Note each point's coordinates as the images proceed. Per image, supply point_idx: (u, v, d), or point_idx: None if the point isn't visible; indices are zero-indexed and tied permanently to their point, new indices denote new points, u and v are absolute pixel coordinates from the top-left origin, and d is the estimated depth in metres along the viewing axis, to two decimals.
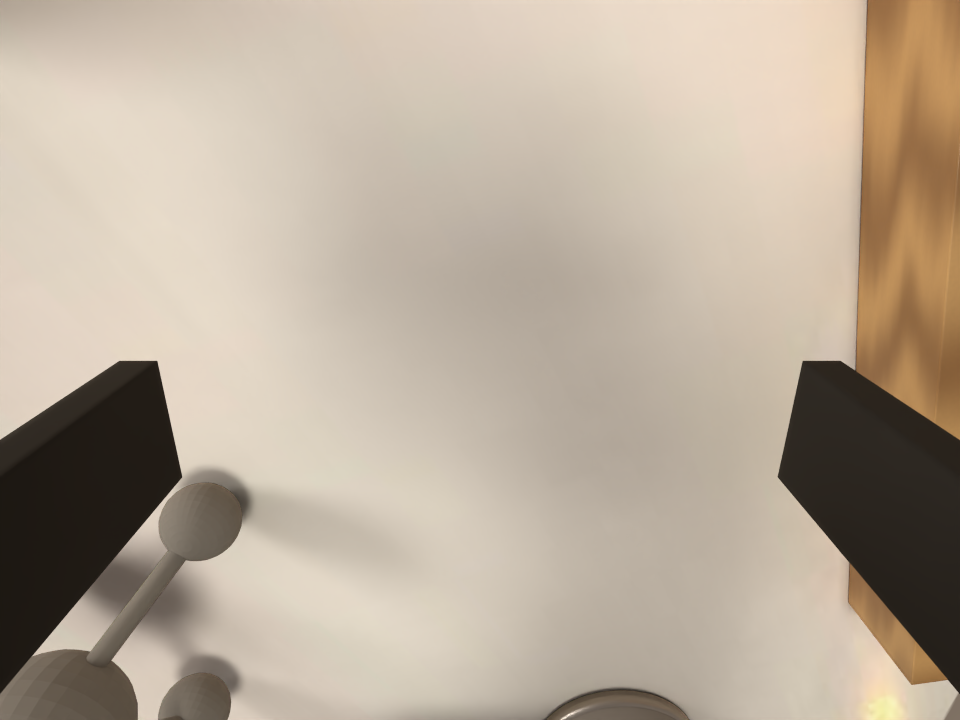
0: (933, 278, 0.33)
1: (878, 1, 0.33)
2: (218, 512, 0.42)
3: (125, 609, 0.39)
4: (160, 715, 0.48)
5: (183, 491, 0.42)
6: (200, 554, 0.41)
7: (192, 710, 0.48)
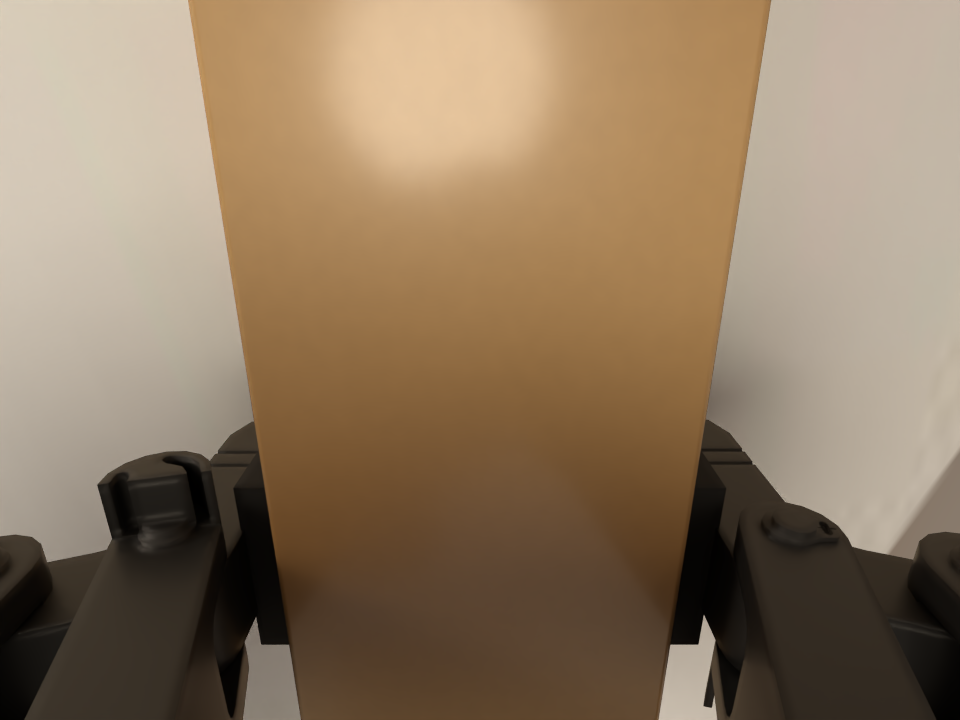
0: None
1: None
2: None
3: None
4: None
5: None
6: None
7: None
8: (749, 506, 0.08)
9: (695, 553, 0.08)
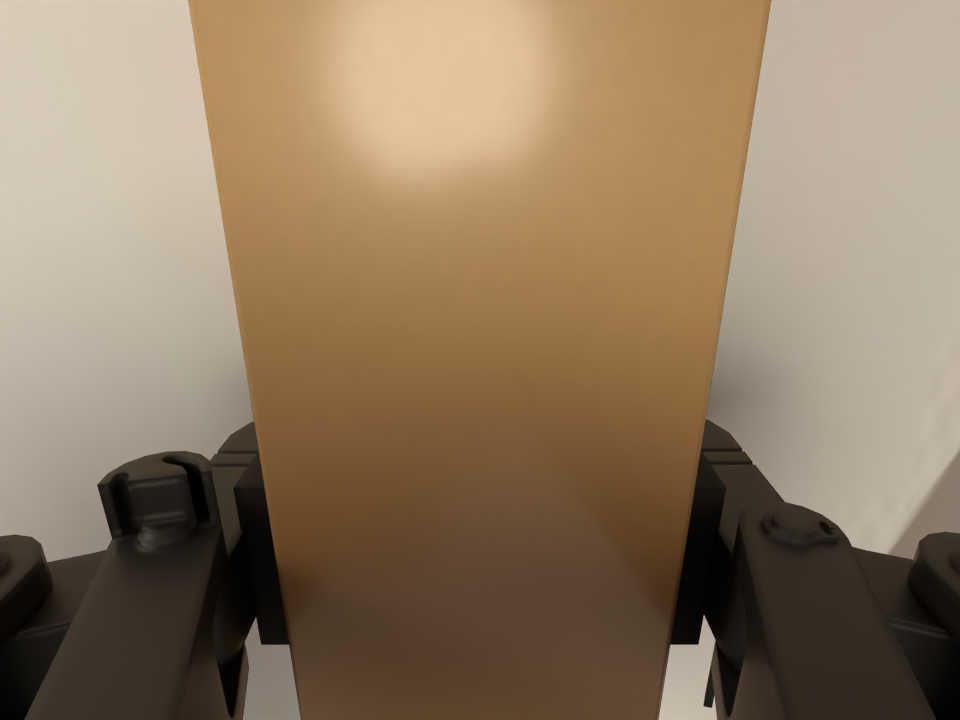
0: None
1: None
2: None
3: None
4: None
5: None
6: None
7: None
8: (749, 506, 0.08)
9: (695, 553, 0.08)
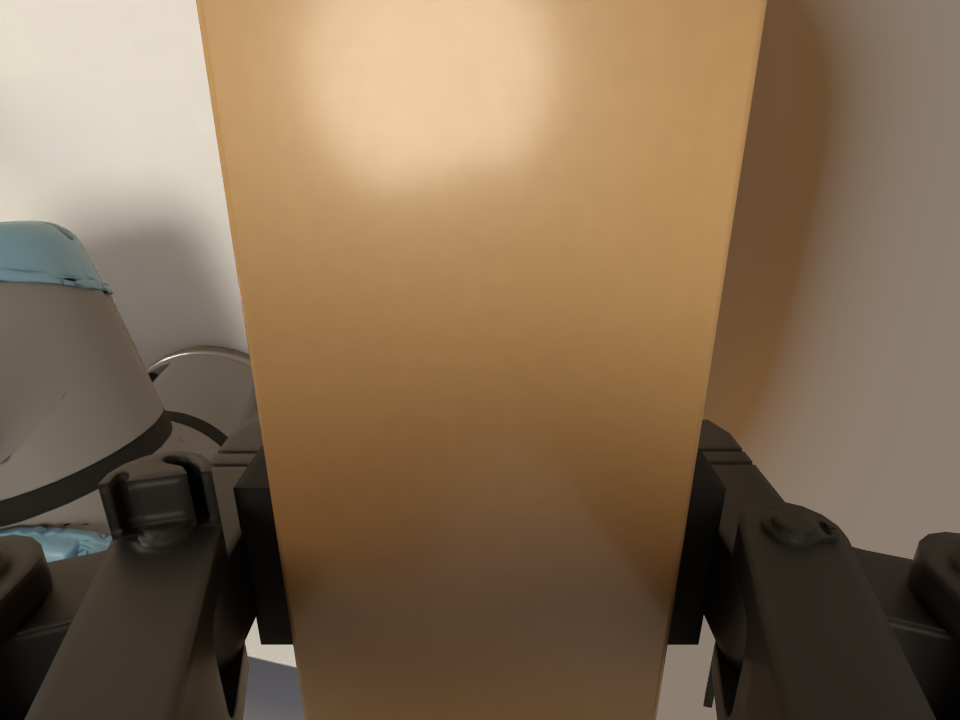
0: None
1: None
2: None
3: None
4: None
5: None
6: None
7: None
8: (749, 506, 0.08)
9: (695, 553, 0.08)
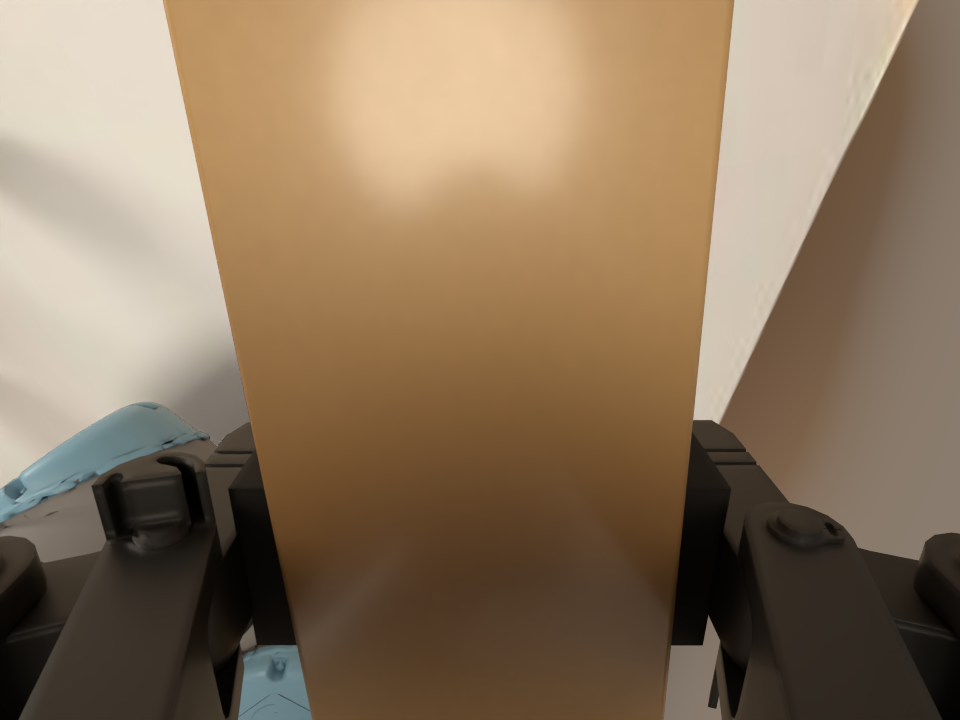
0: None
1: None
2: None
3: None
4: None
5: None
6: None
7: None
8: (754, 506, 0.08)
9: (700, 554, 0.08)
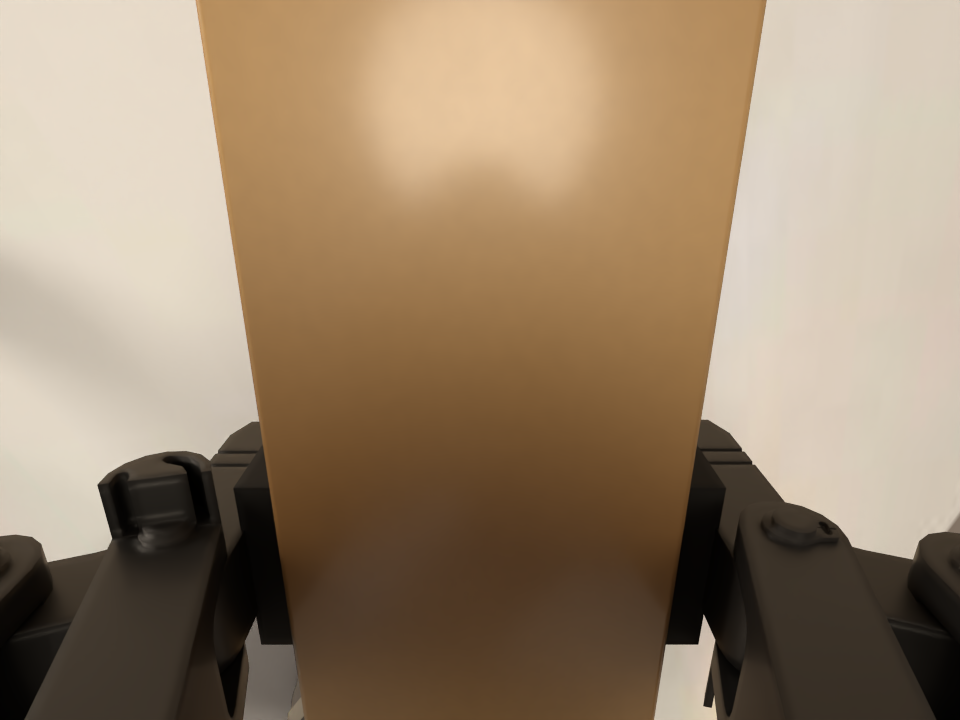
0: None
1: None
2: None
3: None
4: None
5: None
6: None
7: None
8: (749, 506, 0.08)
9: (695, 553, 0.08)
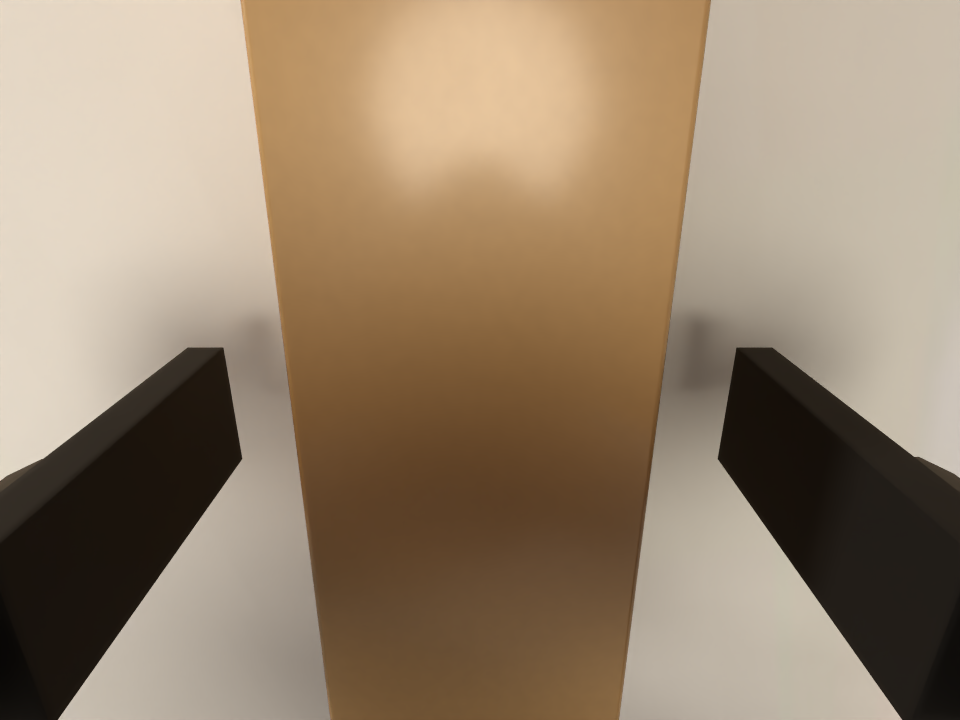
0: None
1: None
2: None
3: None
4: None
5: None
6: None
7: None
8: None
9: None
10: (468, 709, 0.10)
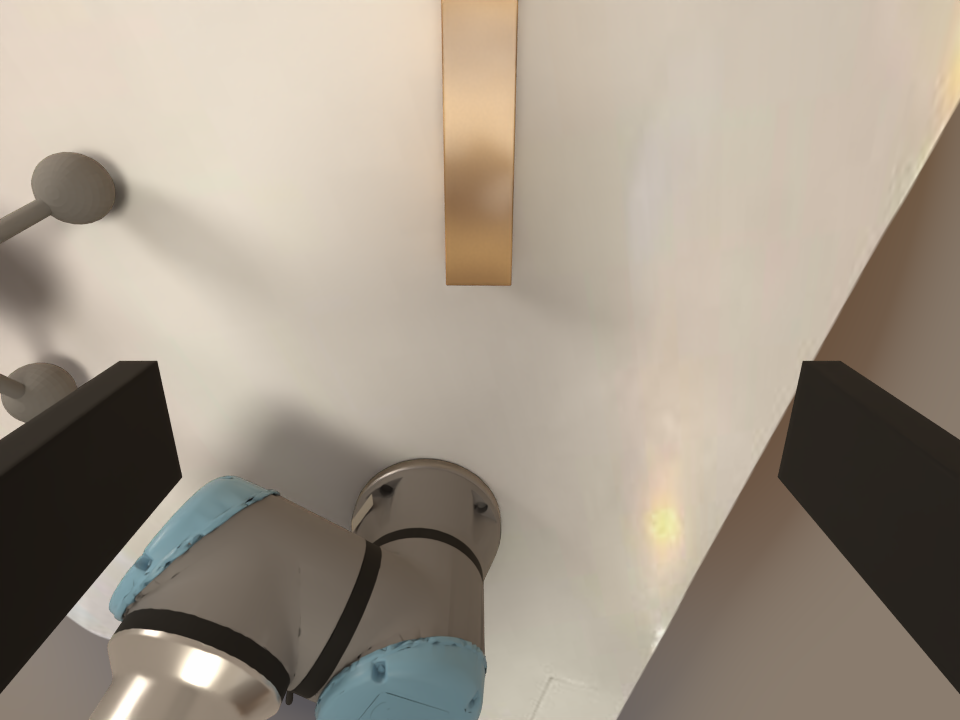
0: None
1: None
2: (90, 175, 0.46)
3: None
4: None
5: (61, 152, 0.46)
6: (66, 206, 0.45)
7: (35, 382, 0.51)
8: None
9: None
10: (477, 254, 0.44)
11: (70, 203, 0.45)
